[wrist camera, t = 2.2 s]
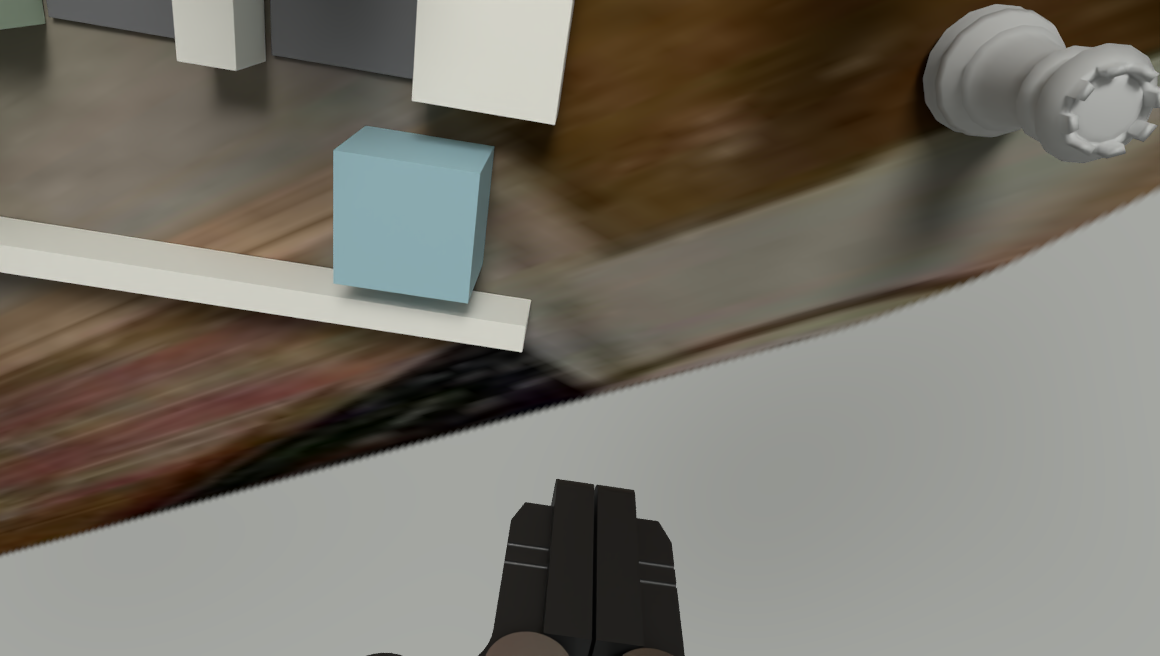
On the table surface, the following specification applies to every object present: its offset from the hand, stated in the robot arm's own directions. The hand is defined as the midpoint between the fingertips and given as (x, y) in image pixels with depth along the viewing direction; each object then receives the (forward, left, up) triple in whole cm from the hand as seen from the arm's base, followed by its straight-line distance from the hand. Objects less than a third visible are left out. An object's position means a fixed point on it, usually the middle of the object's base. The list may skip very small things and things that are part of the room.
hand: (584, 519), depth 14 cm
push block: (-7, 0, -18) cm, 19 cm away
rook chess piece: (+13, +8, -18) cm, 24 cm away
